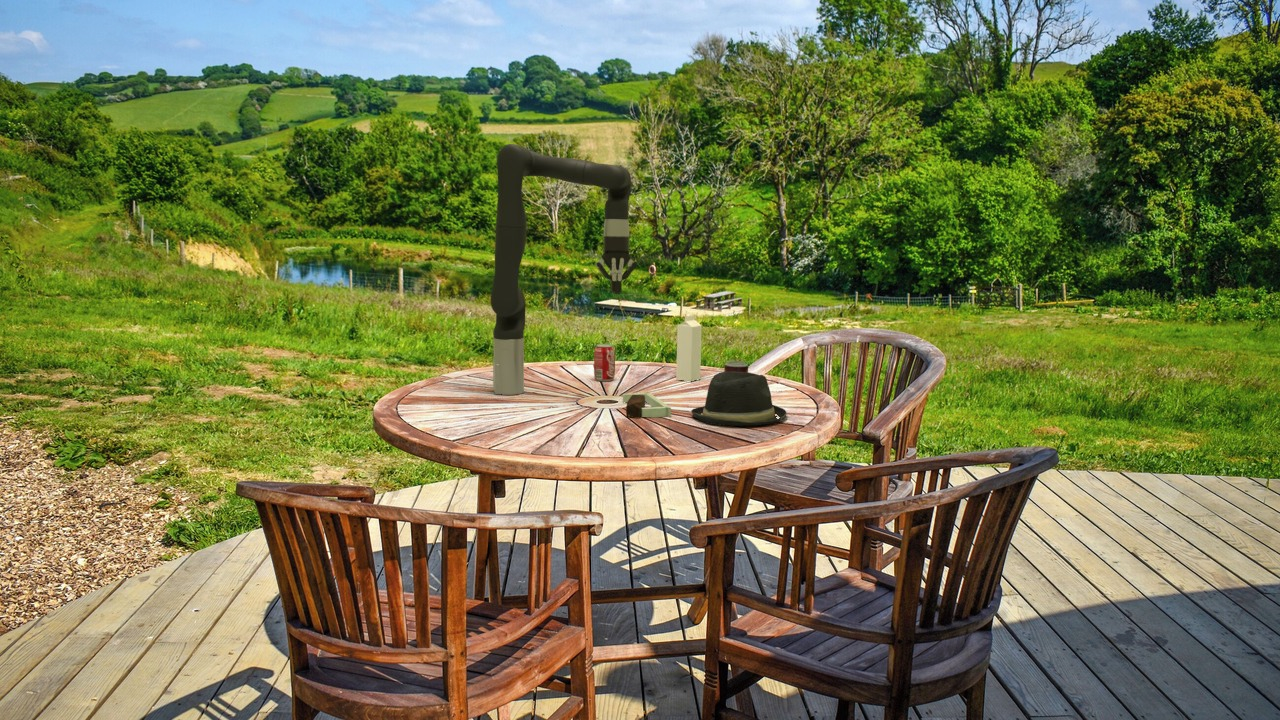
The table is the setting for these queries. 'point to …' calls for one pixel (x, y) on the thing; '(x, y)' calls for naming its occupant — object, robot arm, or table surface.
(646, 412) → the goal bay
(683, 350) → the milk
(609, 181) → the robot arm
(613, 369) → the soda can
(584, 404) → the table surface
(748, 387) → the fedora
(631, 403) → the brick
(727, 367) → the soda can
